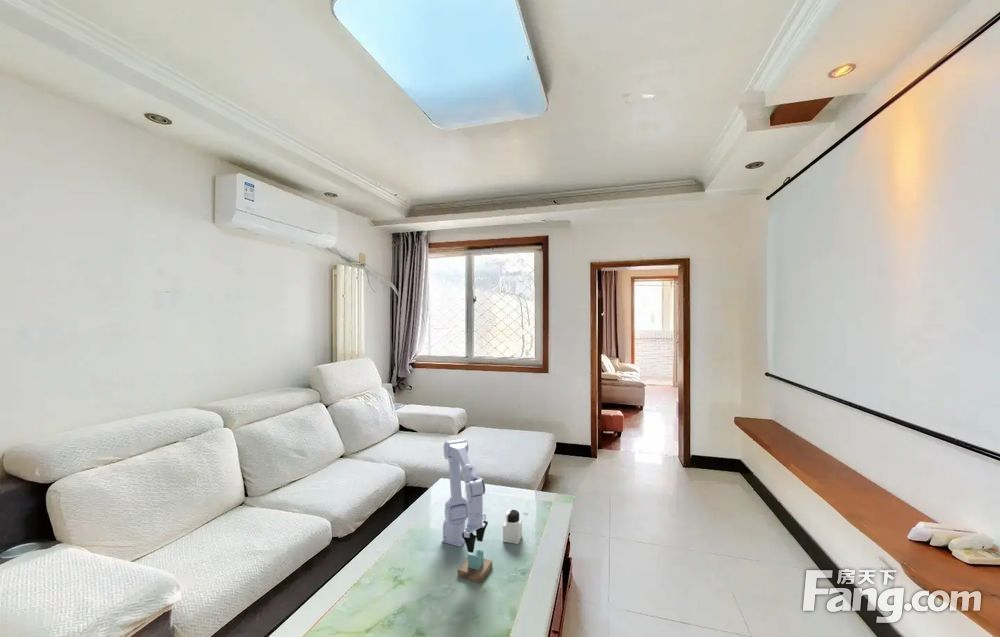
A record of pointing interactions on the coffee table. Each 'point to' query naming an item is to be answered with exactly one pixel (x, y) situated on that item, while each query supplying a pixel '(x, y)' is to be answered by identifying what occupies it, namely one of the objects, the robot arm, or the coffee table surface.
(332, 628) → the coffee table surface
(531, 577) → the coffee table surface
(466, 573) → the walnut slab
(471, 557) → the teal block
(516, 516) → the medicine bottle
